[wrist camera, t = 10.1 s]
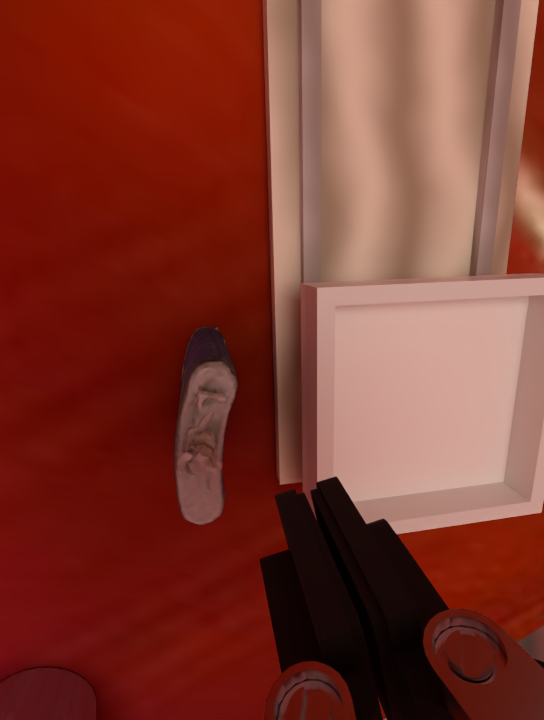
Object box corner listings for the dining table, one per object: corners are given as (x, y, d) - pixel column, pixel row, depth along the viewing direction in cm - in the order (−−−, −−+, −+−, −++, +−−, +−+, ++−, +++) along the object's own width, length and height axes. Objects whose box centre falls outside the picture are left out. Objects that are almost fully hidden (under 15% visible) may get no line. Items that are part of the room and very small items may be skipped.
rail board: (276, 474, 33) (281, 490, 31) (261, -21, 24) (267, -49, 22) (472, 451, 36) (490, 464, 34) (522, -1, 27) (551, -23, 25)
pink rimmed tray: (295, 491, 31) (317, 546, 25) (291, 280, 26) (317, 287, 21) (481, 467, 33) (541, 512, 27) (505, 272, 29) (581, 275, 23)
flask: (217, 449, 31) (224, 552, 20) (176, 448, 31) (161, 553, 20) (228, 326, 29) (244, 368, 18) (185, 322, 29) (173, 363, 18)
